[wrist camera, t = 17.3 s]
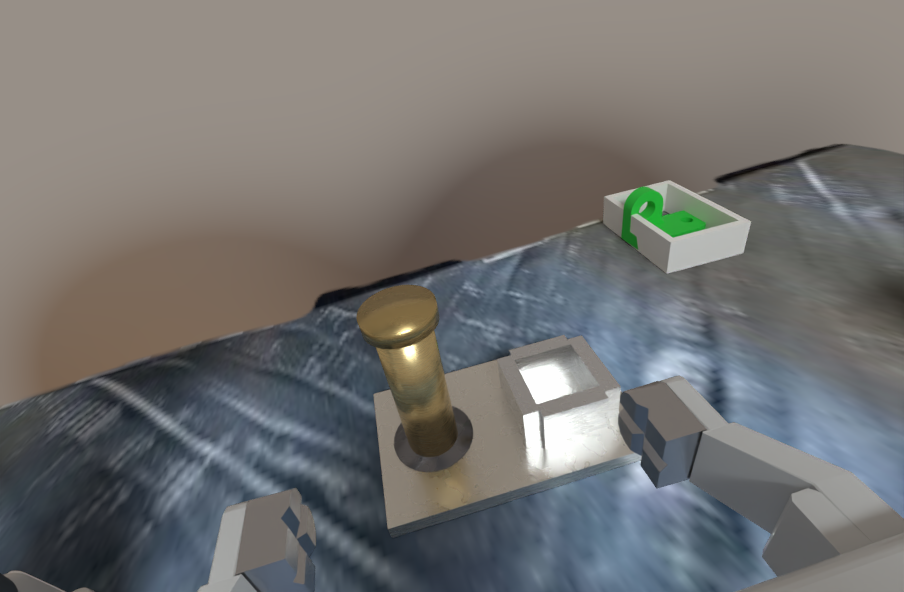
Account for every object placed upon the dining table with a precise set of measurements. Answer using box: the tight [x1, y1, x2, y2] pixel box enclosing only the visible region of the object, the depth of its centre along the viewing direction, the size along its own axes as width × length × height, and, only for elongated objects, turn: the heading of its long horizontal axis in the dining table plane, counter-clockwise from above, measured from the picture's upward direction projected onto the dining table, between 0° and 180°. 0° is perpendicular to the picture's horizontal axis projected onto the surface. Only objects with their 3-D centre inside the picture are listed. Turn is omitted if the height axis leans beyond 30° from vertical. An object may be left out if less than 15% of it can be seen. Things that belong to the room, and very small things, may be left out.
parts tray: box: [603, 180, 751, 274], centre depth 69 cm, size 12×18×5 cm, turn 13°
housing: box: [374, 335, 641, 538], centre depth 44 cm, size 25×16×6 cm, turn 103°
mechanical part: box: [621, 187, 706, 250], centre depth 68 cm, size 12×6×8 cm, turn 106°
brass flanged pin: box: [357, 285, 458, 457], centre depth 40 cm, size 6×6×16 cm
